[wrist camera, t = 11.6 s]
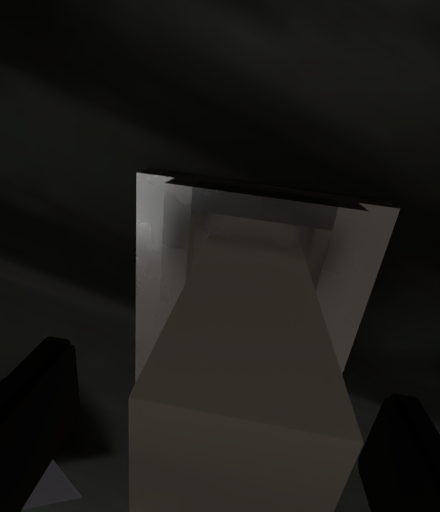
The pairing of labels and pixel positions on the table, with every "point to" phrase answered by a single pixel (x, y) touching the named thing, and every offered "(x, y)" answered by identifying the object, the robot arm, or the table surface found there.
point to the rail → (258, 230)
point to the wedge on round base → (52, 488)
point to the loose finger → (242, 393)
